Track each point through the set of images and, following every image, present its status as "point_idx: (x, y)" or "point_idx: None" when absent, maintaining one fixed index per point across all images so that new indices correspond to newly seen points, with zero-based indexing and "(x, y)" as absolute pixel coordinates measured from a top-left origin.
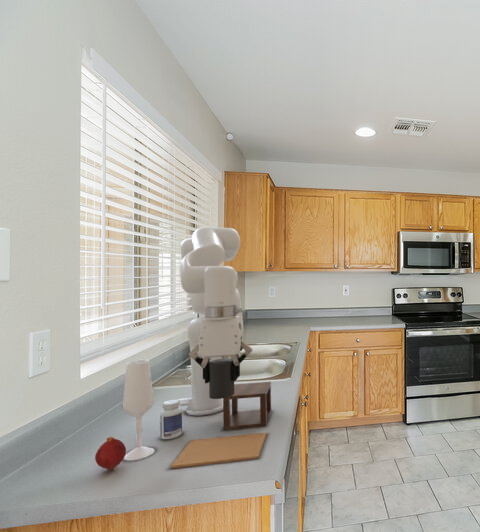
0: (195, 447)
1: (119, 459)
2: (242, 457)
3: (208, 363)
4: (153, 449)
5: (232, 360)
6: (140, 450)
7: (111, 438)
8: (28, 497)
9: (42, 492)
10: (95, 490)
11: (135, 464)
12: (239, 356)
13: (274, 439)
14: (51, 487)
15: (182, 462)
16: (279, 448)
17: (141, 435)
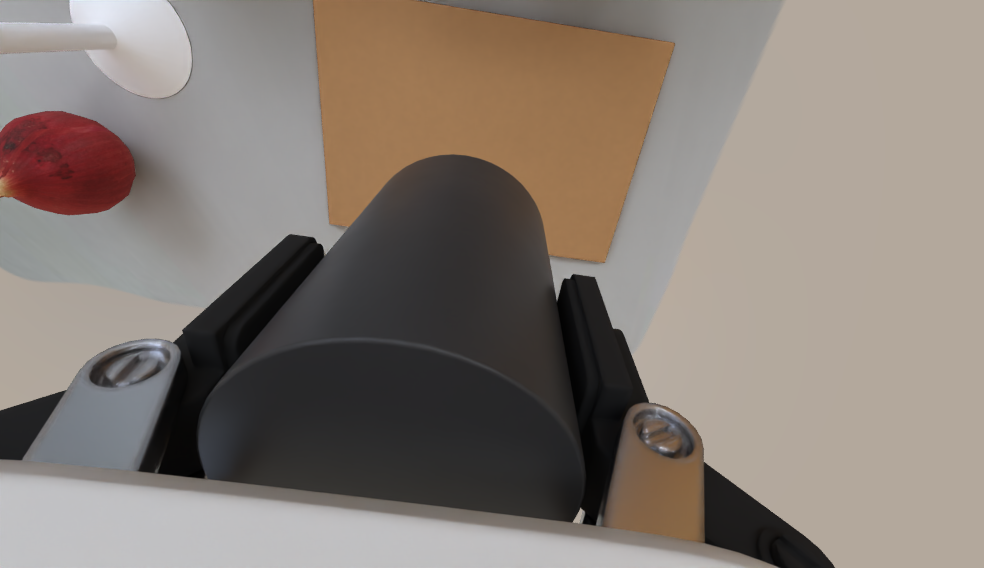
0: (365, 92)
1: (130, 188)
2: (554, 252)
3: (191, 413)
4: (171, 14)
5: (563, 514)
6: (133, 60)
7: (10, 195)
8: (5, 238)
9: (18, 224)
10: (175, 266)
11: (184, 138)
12: (703, 515)
13: (690, 120)
14: (16, 203)
15: (360, 212)
16: (685, 213)
17: (68, 40)
